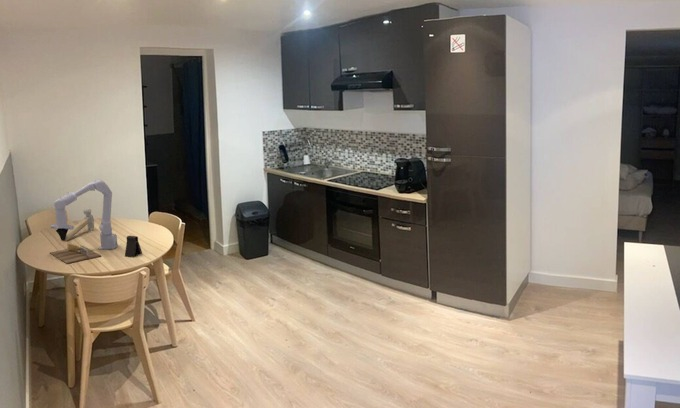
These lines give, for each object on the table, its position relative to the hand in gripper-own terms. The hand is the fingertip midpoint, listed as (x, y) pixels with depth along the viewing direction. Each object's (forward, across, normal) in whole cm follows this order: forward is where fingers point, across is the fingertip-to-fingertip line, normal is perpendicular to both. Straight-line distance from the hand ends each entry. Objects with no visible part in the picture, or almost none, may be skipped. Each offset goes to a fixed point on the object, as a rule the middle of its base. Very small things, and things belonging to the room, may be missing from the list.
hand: (63, 240), depth 335 cm
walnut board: (+8, +9, -2) cm, 12 cm away
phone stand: (+9, +43, +6) cm, 44 cm away
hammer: (+9, -18, +38) cm, 43 cm away
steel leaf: (+8, +15, -2) cm, 17 cm away
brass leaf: (+7, +6, +2) cm, 9 cm away
